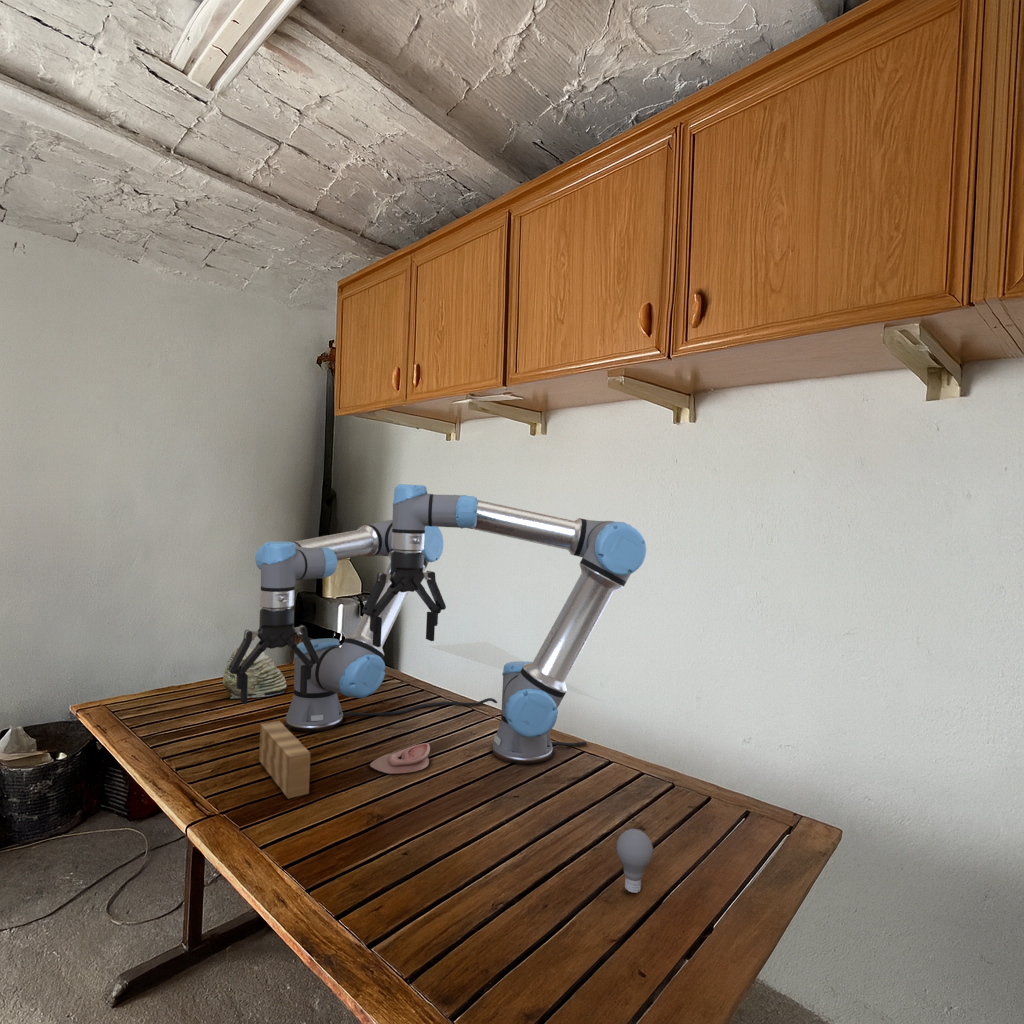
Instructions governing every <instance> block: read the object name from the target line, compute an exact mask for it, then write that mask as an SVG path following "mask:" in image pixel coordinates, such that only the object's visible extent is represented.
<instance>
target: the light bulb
mask: <svg viewBox="0 0 1024 1024" xmlns="http://www.w3.org/2000/svg"><path fill="white" fill-rule="evenodd" d="M615 849H616V854H617V857H618V859H619V861H620V863H621V865H622V867H623V873H624V874H623V875H624V876H625V878H624V888H625V890H627V891H628V892H630V893H634V894H635V893H639V892H640V891H641V889H642V887H641V886H642V879H643V877H644V875H645V871H646V868H647V867H648V866H649V864H650V863H651V861H652V859H653V855H654V847H653V843H652V841H651V838H649V836H648V835H647V834H646V833H645V832H643V831H642V830H641V829H636V828H629V829H627V830H625V831H623V832H622V833H621V834H620V835H619V837H618V839H617V841H616V847H615Z"/></svg>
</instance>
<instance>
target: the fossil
mask: <svg viewBox="0 0 1024 1024" xmlns="http://www.w3.org/2000/svg"><path fill="white" fill-rule="evenodd" d="M239 647H240V646H238V647H237V648H236V649H235V650H233V651H232V653H231V656H230V657H229V659H228V660H227V663H226V666H225V668H224V671H223V675H222V676H223V677H222V685H223V687H224V688H225V690H226V691H228V693H229V698H230V699H241V689H238V688H237V686H236V682H237V675H236V674H232V673H230V672H229V670H228V667H229V665H230V664H231V662H232V660H233V658H234V656H235V654H236V652H237V650H238V649H239ZM253 649H254V648H251V647H249V648H248V650H247V652H246V654H245V656H244V657H243V659H242V661H241V663H240V665H241V664H242V662H243V661H244V660H245V659H246V658H247V656H248V655H249V654H250V653H251V652H252V651H253ZM240 665H239V666H240ZM245 673H246V674H247V675H248V684H247V699H250V698H264V697H271V696H275V695H281V694H284V693H285V691H286V689H287V687H288V686H287V680H286V678H285V676H284V674H283V673H282V672H281V669H279V668H278V667H277V665H276V663H275V662H274V660H273V659H272V658H271V657H270V656H269V655H268V654H267V653H266V652H265V651H263V652H262V653H261V654H260V656H259V657H258V658H257V659H256V660H255V661H254V663H253V664H252V665H251V666H250V667H249V669H248V670H247V671H246V672H245Z"/></svg>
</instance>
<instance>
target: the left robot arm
mask: <svg viewBox="0 0 1024 1024" xmlns="http://www.w3.org/2000/svg"><path fill="white" fill-rule="evenodd" d="M392 521H393V519H388V520H382V521H378V522H374V523H369V524H365V525H361V526H359V527H358V528H357V529H356V530H355V529H354V530H350V531H344V532H340V533H334V534H329V535H321V536H317V537H311V538H306V539H300V540H295V541H283V540H282V541H281V540H280V541H277V540H275V541H267V542H265V543H263V544H262V545H261V546H260V547H258V548H257V551H256V552H255V557H254V561H255V565H256V566H257V568H258V569H259V570H260V593H259V595H260V596H259V597H260V598H259V606H260V609H259V624H258V625H259V626H258V629H257V630H249V629H245V630H244V631H243V632H244V633H243V639H242V641H241V643H240V644H239V646H238V647H239V649H238V650H237V652H236V654H235V656H234V658H233V660H232V662H231V664H230V665H229V667H228V670H229V672H230V673H232V674H236V675H237V682H236V686H237V688H238V689H241V698H240V702H241V703H242V704H243V705H247V704H248V698H247V684H248V675H247V674H246V673H245V672H246V671H247V670H248V669H249V667H250V666H251V665H252V664H253V663H254V661H255V660H256V659H257V658H258V657H259V656H260V654H261V653H262V652H263V651H264V652H265V651H266V650H267V649H270V650H271V649H272V650H273V649H276V648H280V649H281V648H285V647H286V646H287V647H288V648H289V649H290V650H291V652H293V653H294V656H293V659H294V661H293V662H294V663H293V664H294V668H293V695H292V696H293V697H292V699H291V702H290V704H289V708H288V711H287V713H286V715H285V727H286V728H287V729H288V730H291V731H294V732H295V731H296V732H301V733H316V732H325V731H329V730H332V729H335V728H337V727H339V726H340V725H342V723H343V722H344V717H352V716H353V717H354V716H355V717H356V716H357V717H358V716H359V717H378V716H379V717H381V716H394V715H400V714H405V713H408V712H411V711H414V710H418V709H422V708H427V707H434V706H448V705H449V706H450V705H451V706H479V705H482V704H484V703H487V702H493V703H494V704H498V701H497V700H496V698H493V697H488V698H484V699H482V700H479V701H474V702H467V701H466V702H463V701H437V702H430V703H423V704H418V705H414V706H412V707H407V708H404V709H401V710H395V711H386V712H385V711H384V712H383V711H381V712H343V709H342V706H341V702H340V699H339V695H338V694H340V695H343V696H345V697H347V698H355V699H365V698H367V697H370V696H372V695H373V694H374V693H375V692H376V691H377V690H378V689H379V688H380V686H381V685H382V683H383V681H384V679H385V675H386V671H385V669H386V664H385V660H384V658H385V652H384V649H383V647H384V645H385V642H386V640H387V638H388V637H389V634H390V632H391V630H392V628H393V626H394V624H395V622H396V620H397V617H398V615H399V613H400V611H401V610H402V607H403V605H404V603H405V601H406V599H407V596H408V595H409V593H410V591H407V592H398V594H396V595H395V596H394V597H393V598H392V600H391V601H390V602H389V604H388V605H387V606H386V607H385V609H384V610H383V611H382V613H381V614H380V615H379V616H378V617H381V618H382V629H381V647H376V646H374V645H373V632H372V631H370V616H368V615H366V614H363V615H362V617H361V619H360V621H359V622H358V625H357V627H356V629H355V630H354V632H353V634H352V635H350V636H346V637H345V638H344V640H343V642H342V643H340V641H339V639H338V638H335V637H334V638H332V637H329V638H315V639H310V637H309V636H308V635H309V634H308V627H307V626H305V625H303V624H299V626H296V627H295V626H294V623H295V622H294V621H295V609H294V608H293V607H294V606H295V589H296V581H303V580H304V581H305V580H313V579H324V578H327V577H328V578H329V577H331V576H332V575H334V574H335V573H336V570H337V567H338V561H341V560H347V559H352V558H356V557H361V556H363V557H365V558H371V557H377V556H379V557H388V558H389V561H390V562H389V563H388V566H387V568H386V569H385V571H384V574H390V572H391V553H392V552H394V550H393V549H392V548H391V545H392ZM443 550H444V537H443V533H442V530H441V528H440V527H437V526H425V540H424V550H422V551H421V552H422V553H423V554H424V567H423V573H424V572H426V569H427V567H428V565H429V563H434V562H436V561H438V560H439V559H440V558H441V556H442V554H443ZM390 584H391V581H390V580H388V582H387V583H386V584H385V587H384V589H383V591H382V593H381V595H380V597H379V599H378V601H379V600H380V599H381V597H382V596H383V595H384V594H385V592H386V591H387V588H388V587H389V586H390ZM378 601H377V602H378ZM376 604H377V603H376ZM295 634H296V635H297V636H299V638H300V639H301V641H302V642H299V643H298V644H296V643H295V642H294V641H293V640H292V639H293V637H294V635H295ZM256 637H257V638H258V639H259V641H258V642H257V644H256V645H255V647H254V648H252V649H253V651H252V652H251V653H250V654H249V655H248V656H247V658H246V659H245V660H244V661H243V662H242V664H241V665H240V663H241V661H242V659H243V657H244V656H245V654H246V652H247V650H248V648H250V646H251V645H252V642H253V641H254V640H255V639H256ZM239 665H240V666H239ZM476 702H478V703H476Z"/></svg>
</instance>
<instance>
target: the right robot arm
mask: <svg viewBox="0 0 1024 1024" xmlns="http://www.w3.org/2000/svg"><path fill="white" fill-rule="evenodd" d="M392 520H393V521H392V545H391V548H392V549H393V550H394V552H392V553H391V561H390V562H391V572H390V574H385V572H377V574H376V579H375V580H376V581H375V583H374V585H373V588H372V589H371V592H370V593H369V596H368V598H367V599H366V602H365V603H364V606H363V607H362V610H361V613H362V614H363V615H364V614H366V615H368V616H370V631H372V632H373V645H374V646H376V647H381V629H382V618H381V617H378V616H379V615H380V614H381V613H382V611H383V610H384V609H385V607H386V606H387V605H388V604H389V602H390V601H391V600H392V598H393V597H394V596H395V595H396V594H398V592H407V591H409V593H412V592H413V593H414V592H416V593H417V595H419V596H418V597H419V598H420V599H421V600H422V601H423V603H424V604H425V606H426V607H427V608H428V609H429V611H426V626H425V640H428V641H430V642H434V641H435V630H436V627H437V626H438V624H439V614H441V612H442V611H445V610H446V609H447V606H446V603H445V601H444V598H443V595H442V593H441V590H440V588H439V586H438V583H437V581H436V580H437V579H436V572H435V571H431V570H425V571H424V572H423V567H424V554H423V553H422V552H421V551H422V550H424V540H425V526H437V527H438V528H457V529H458V528H459V529H468V530H475V531H479V532H483V533H488V534H494V535H497V536H502V537H507V538H511V539H516V540H519V541H524V542H529V543H534V544H539V545H542V546H547V547H552V548H555V549H556V548H557V549H561V550H565V551H568V552H569V554H570V555H571V556H574V557H579V558H581V559H580V562H579V568H580V572H581V573H580V575H579V577H578V579H577V580H576V582H575V584H574V586H573V588H572V589H571V591H570V593H569V595H568V597H567V598H566V601H565V603H564V604H563V606H562V608H561V610H560V612H559V613H558V615H557V617H556V619H555V621H554V622H553V624H552V626H551V628H550V630H549V631H548V633H547V635H546V637H545V639H544V641H543V643H542V645H541V646H540V648H539V650H538V652H537V654H536V655H535V657H534V659H533V661H522V660H521V661H519V660H518V661H508V662H506V663H505V664H504V665H503V670H502V674H501V675H502V689H501V691H502V692H501V693H502V694H501V714H500V715H501V717H500V723H499V726H498V728H497V731H496V734H495V735H494V737H493V742H492V753H493V755H494V756H495V757H496V758H498V759H500V760H502V761H504V762H508V763H510V764H511V763H512V764H520V765H534V764H539V763H543V762H546V761H548V760H549V759H551V758H552V756H553V746H560V747H578V746H580V747H581V746H586V745H587V741H579V742H561V741H552V739H551V735H550V731H552V729H553V728H554V727H555V725H556V723H557V720H558V715H559V710H558V709H559V706H560V705H561V702H562V701H563V699H564V697H565V695H567V694H566V693H567V691H568V689H567V685H566V679H567V678H568V676H569V674H570V672H571V670H572V669H573V667H574V665H575V663H576V661H577V660H578V658H579V656H580V655H581V652H582V651H583V648H584V647H585V645H586V643H587V641H588V639H589V638H590V636H591V634H592V632H593V631H594V628H595V627H596V625H597V623H598V622H599V620H600V618H601V615H602V614H603V612H604V610H605V609H606V607H607V604H608V603H609V601H610V600H611V597H612V596H613V593H614V592H615V591H618V590H621V589H623V588H624V587H625V586H626V584H627V582H628V580H629V579H630V577H631V575H632V574H633V573H635V572H636V571H638V570H639V569H640V568H641V567H642V565H643V564H644V562H645V559H646V557H647V544H646V541H645V538H644V536H643V534H642V533H641V532H640V531H639V530H638V529H637V528H636V527H634V526H632V524H628V523H626V522H624V521H614V520H593V519H586V518H580V517H578V518H576V519H575V520H572V519H568V518H562V517H558V516H553V515H548V514H543V513H539V512H535V511H530V510H525V509H521V508H517V507H512V506H508V505H503V504H498V503H494V502H488V501H484V500H479V499H478V498H477V496H475V495H474V496H473V495H468V494H434V493H428V488H427V486H426V485H423V484H404V483H403V484H402V483H401V484H399V483H398V484H397V485H395V487H394V491H393V501H392ZM388 580H390V581H391V584H390V586H389V587H388V588H387V591H386V592H385V594H384V595H383V596H382V597H381V599H380V600H379V601H378V599H379V597H380V595H381V593H382V591H383V589H384V587H385V584H386V583H387V582H388ZM423 580H425V581H426V584H427V586H428V589H429V592H430V594H431V596H432V597H431V596H430V595H429V593H428V592H427V590H426V588H425V587H424V585H423V584H422V582H423ZM377 601H378V602H377ZM376 603H377V604H376Z"/></svg>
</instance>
